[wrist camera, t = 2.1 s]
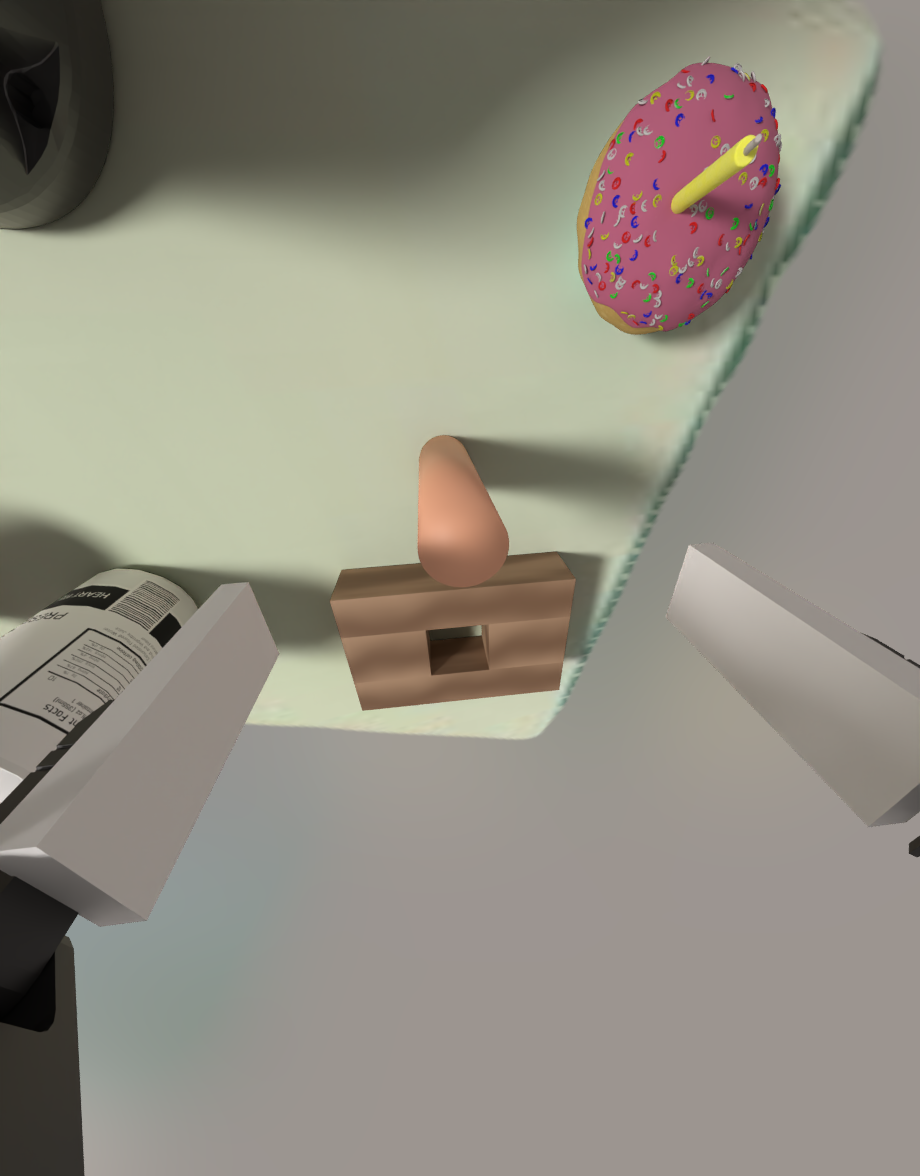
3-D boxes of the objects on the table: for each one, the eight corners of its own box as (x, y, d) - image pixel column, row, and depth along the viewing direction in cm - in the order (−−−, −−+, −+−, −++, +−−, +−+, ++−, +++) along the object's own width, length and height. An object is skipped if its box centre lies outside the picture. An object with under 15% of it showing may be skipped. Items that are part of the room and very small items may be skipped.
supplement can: (200, 655, 33) (61, 840, 20) (91, 627, 30) (-148, 821, 17) (213, 586, 29) (53, 759, 16) (90, 548, 26) (-212, 719, 14)
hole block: (341, 569, 29) (329, 601, 25) (556, 551, 30) (575, 578, 26) (368, 673, 36) (362, 710, 32) (544, 655, 37) (558, 689, 33)
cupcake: (549, 348, 22) (655, 336, 12) (550, 143, 18) (722, -149, 8) (684, 326, 22) (901, 298, 12) (720, 117, 18) (1117, -208, 8)
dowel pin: (416, 437, 24) (412, 508, 13) (467, 433, 24) (510, 500, 13) (421, 487, 26) (422, 590, 14) (469, 484, 26) (507, 583, 15)
